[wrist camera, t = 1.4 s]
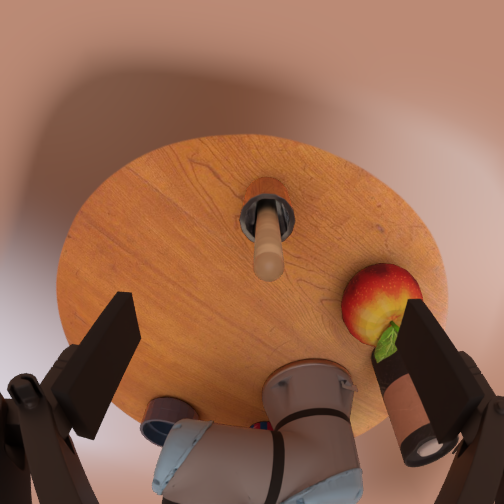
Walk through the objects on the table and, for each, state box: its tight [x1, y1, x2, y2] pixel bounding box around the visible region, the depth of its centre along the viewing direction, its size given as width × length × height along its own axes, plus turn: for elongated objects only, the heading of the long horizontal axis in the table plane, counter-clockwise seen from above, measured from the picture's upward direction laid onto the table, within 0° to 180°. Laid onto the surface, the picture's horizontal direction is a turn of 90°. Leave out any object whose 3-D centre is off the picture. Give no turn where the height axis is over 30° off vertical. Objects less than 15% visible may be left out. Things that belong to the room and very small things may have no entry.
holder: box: [239, 177, 295, 243], centre depth 33 cm, size 5×5×9 cm
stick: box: [253, 199, 285, 282], centre depth 28 cm, size 2×2×19 cm
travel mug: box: [371, 349, 459, 467], centre depth 37 cm, size 8×8×20 cm
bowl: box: [140, 397, 199, 447], centre depth 51 cm, size 10×10×6 cm
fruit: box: [341, 263, 423, 363], centre depth 37 cm, size 11×11×10 cm
